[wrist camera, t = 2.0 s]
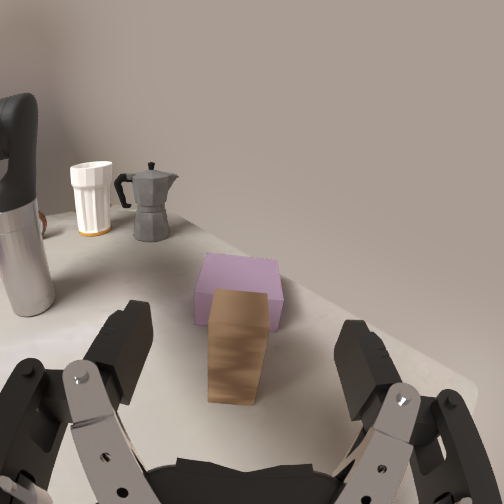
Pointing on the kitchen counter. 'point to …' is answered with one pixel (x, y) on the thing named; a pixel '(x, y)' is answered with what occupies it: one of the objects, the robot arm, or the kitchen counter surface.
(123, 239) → the kitchen counter surface
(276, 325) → the base block
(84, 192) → the cup
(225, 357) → the walnut block
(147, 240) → the coffeepot
